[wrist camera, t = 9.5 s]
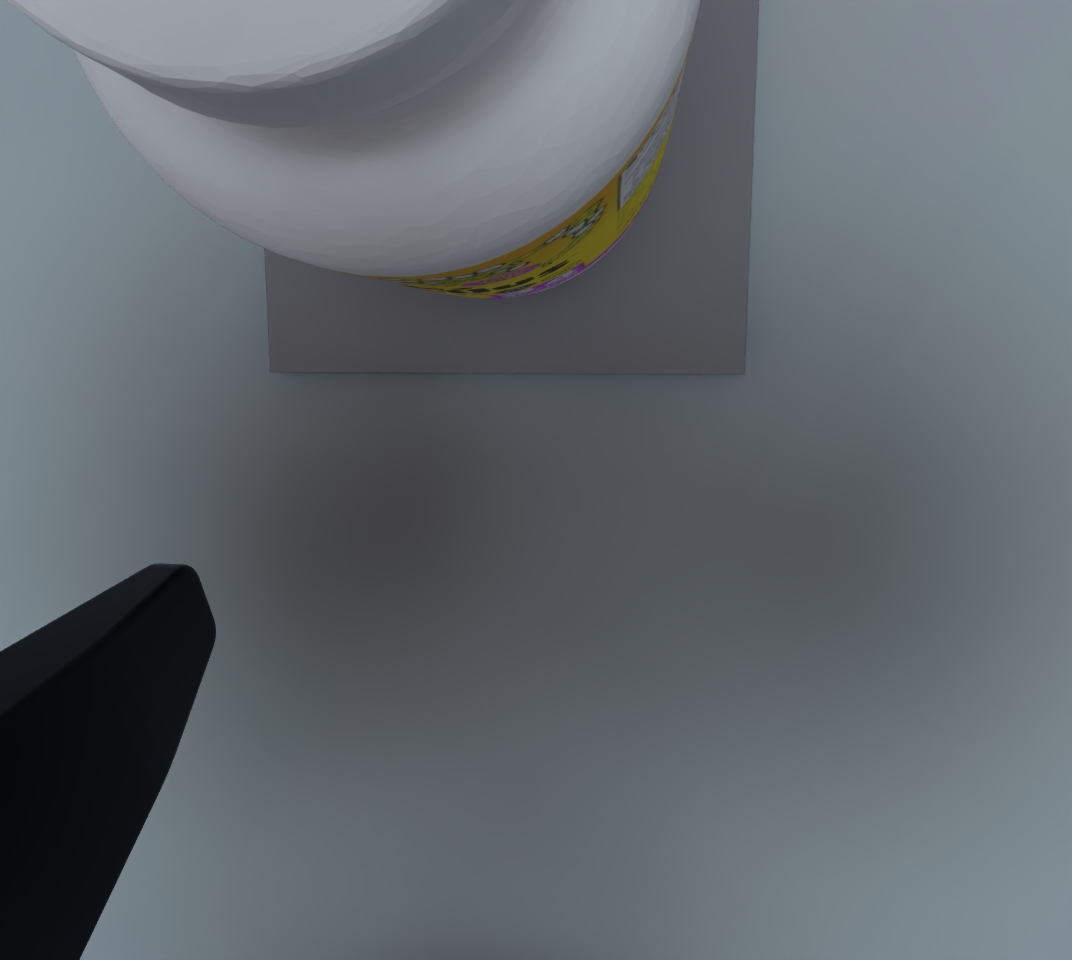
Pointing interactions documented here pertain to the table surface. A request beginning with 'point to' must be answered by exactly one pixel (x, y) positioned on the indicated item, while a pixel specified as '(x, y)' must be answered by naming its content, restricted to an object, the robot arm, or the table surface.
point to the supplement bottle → (397, 124)
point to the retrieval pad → (595, 294)
